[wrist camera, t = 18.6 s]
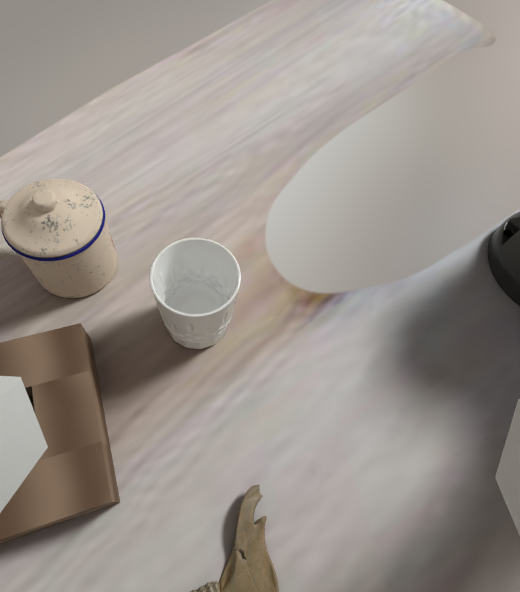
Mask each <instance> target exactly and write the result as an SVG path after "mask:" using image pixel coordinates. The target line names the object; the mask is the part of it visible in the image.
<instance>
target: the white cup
mask: <svg viewBox="0 0 520 592" xmlns="http://www.w3.org/2000/svg"><path fill="white" fill-rule="evenodd" d="M240 282H241V273H240V268H239V265H238V263H237V261H236V259H235V257H234V256H233V255H232V253H231V252H230V251H229V250H228V249H226V248H225V247H224V246H222V245H221V244H219V243H217V242H215V241H212V240H208V239H204V238H187V239H182V240H179V241H176V242H174V243H172V244H170V245H168V246H167V247H165V248H164V249H163V250H162V251H161V252H160V253H159V254H158V255H157V257H156V258H155V260H154V261H153V264H152V266H151V270H150V286H151V289H152V292H153V295H154V297H155V300H156V303H157V306H158V309H159V312H160V314H161V317H162V319H163V322H164V324H165V326H166V328H167V330H168V332H169V333H170V335H171V337H172V338H173V340H174V341H176V342H177V343H179V344H181V345H182V346H184V347H186V348H193V349H203V348H206V347H209V346H212V345H215V344H216V343H217V342H218V341H219V340H220V339H221V338H222V337H223V336H224V335H225V333H226V330H227V327H228V325H229V322H230V320H231V317H232V314H233V311H234V307H235V303H236V299H237V295H238V291H239V287H240Z"/></svg>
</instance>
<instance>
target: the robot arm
mask: <svg viewBox="0 0 520 592" xmlns="http://www.w3.org/2000/svg"><path fill="white" fill-rule="evenodd" d="M488 257H489V262H490V266H491V269H492V271H493V274H494V276H495V278H496V279H497V281H498V282H499V284H500V285H501V287H502V288H503V289H504V290H505V292H506V293H507V294H508V295H509V296H510V297H511V298H512V299H513V300H514V301H516V302H517V303H518V304H519V305H520V212H518V213H516V214H514V215H513V216H511V217H510V218H508V219H507V220H506V221H505V222H504V223H503V224H502V225H501V226H500V227H499V228H498V229H497V230H496V231H495V232H494V233H493V235H492V237H491V239H490V242H489V247H488ZM47 448H48V446H47V443H46V441H45V438H44V436H43V433H42V430H41V428H40V425H39V423H38V420H37V418H36V415H35V412H34V410H33V407H32V405H31V402H30V400H29V397H28V394H27V392H26V389H25V387H24V384H23V382H22V379H21V377H13V376H0V513H1V512H2V510H3V509H4V507H5V506H6V505H7V503H8V502H9V500H10V499H11V498H12V496H13V495H14V493H15V492H16V491H17V489H18V488H19V487H20V485H21V484H22V482H23V481H24V480H25V478H26V477H27V475H28V474H29V473H30V471H31V470H32V468H33V467H34V466H35V464H36V463H37V462H38V460H39V459H40V457H41V456H42V455H43V453H44V452H45V450H46V449H47ZM495 479H496V481H497V483H498V486H499V488H500V491H501V493H502V495H503V498H504V500H505V502H506V505H507V507H508V510H509V512H510V514H511V517H512V519H513V522H514V524H515V526H516V529H517V531H518V534H519V536H520V399H518V402H517V405H516V409H515V412H514V415H513V419H512V422H511V425H510V429H509V432H508V436H507V439H506V442H505V446H504V449H503V452H502V456H501V459H500V463H499V466H498V469H497V473H496V476H495Z"/></svg>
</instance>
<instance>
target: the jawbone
mask: <svg viewBox="0 0 520 592" xmlns="http://www.w3.org/2000/svg"><path fill="white" fill-rule="evenodd" d="M259 486H260V485H255V486H252V487H251V488H250V489H249V490H248V491H247V493H246V494H245V496H244V498H243V500H242V502H241V505H240V508H239V512H238V518H237V525H236V531H235V538H234V544H233V549H232V553H231V556H230V558H229V560H228V563H227V565H226V567H225V570H224V572H223V574H222V576H221V578H220V580H219V583H218V582H212V583H211V582H210V583H207V586H206V587H205V586H202V587H200V589H199V591H197V590H192V592H278V591H279V589H278V582H277V578H276V573H275V570H274V568H273V564H272V562H271V559H270V557H269V555H268V552H267V548H266V544H265V534H264V530H265V521H266V516H264V517H262V518H260V519H258V520H257V521H256V524H254V512H255V508H256V505H257V503H258V502H259V501H260V499H261V498H262V495H260V492H259V488H260V487H259Z"/></svg>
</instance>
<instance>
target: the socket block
mask: <svg viewBox="0 0 520 592" xmlns="http://www.w3.org/2000/svg"><path fill="white" fill-rule="evenodd" d="M0 376H13V377H21V379H22V382H23V384H24V387H25V389H26V392H27V394H28V397H29V400H30V401H34V410H35V415H36V418H37V420H38V423H39V425H40V428H41V430H42V433H43V436H44V438H45V441H46V443H47V446H48V448H47V449H46V450H45V452H44V453H43V455H42V456H41V457H40V461H38V462H37V463H36V464H35V466H34V467H33V468H32V470H31V471H30V473H29V474H28V475H27V477H26V478H25V480H24V481H23V482H22V484H21V485H20V487H19V488H18V489H17V491H16V492H15V493H14V495H13V496H12V498H11V499H10V500H9V502H8V503H7V505H6V506H5V507H4V509H3V510H2V512H1V513H0V544H1V543H4V542H7V541H9V540H12V539H15V538H18V537H21V536H24V535H27V534H30V533H33V532H35V531H38V530H41V529H44V528H47V527H50V526H53V525H56V524H59V523H62V522H64V521H67V520H70V519H73V518H76V517H79V516H82V515H85V514H88V513H91V512H93V511H96V510H99V509H102V508H105V507H108V506H111V505H114V504H117V503H120V499H119V493H118V488H117V482H116V477H115V471H114V466H113V460H112V455H111V449H110V443H109V438H108V432H107V427H106V421H105V416H104V410H103V405H102V399H101V394H100V388H99V382H98V377H97V371H96V366H95V360H94V355H93V349H92V344H91V338H90V337H89V335H88V334H87V332H86V331H85V329H84V328H83V326H82V325H81V323H80V324H76V325H72V326H68V327H63V328H59V329H55V330H51V331H47V332H43V333H39V334H35V335H31V336H26V337H22V338H18V339H14V340H10V341H6V342H2V343H0Z"/></svg>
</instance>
